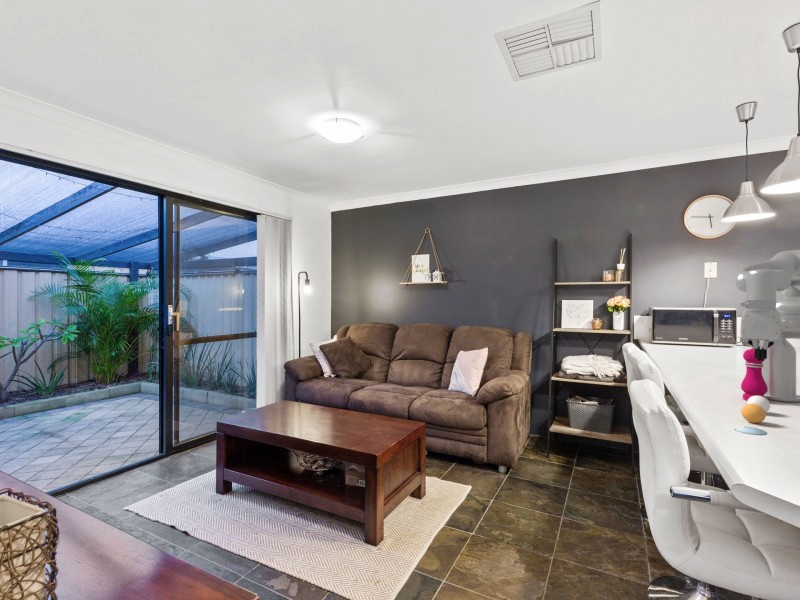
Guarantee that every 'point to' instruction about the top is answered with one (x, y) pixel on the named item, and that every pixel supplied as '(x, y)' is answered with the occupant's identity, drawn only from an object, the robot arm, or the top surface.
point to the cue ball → (759, 402)
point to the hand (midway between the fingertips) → (760, 360)
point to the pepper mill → (753, 376)
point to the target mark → (752, 430)
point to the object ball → (753, 413)
